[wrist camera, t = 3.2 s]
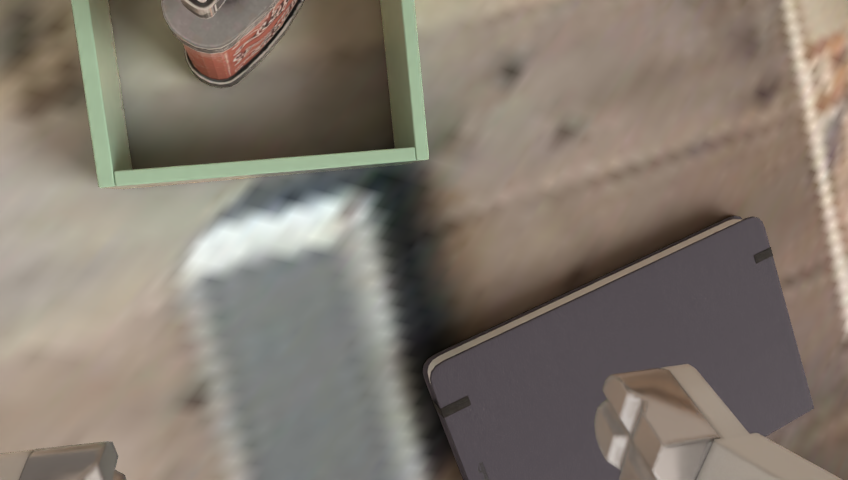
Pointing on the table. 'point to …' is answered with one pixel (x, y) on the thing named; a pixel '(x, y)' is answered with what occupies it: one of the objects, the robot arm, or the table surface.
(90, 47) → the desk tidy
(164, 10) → the lighter
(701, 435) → the robot arm
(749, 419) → the notebook
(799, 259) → the table surface
